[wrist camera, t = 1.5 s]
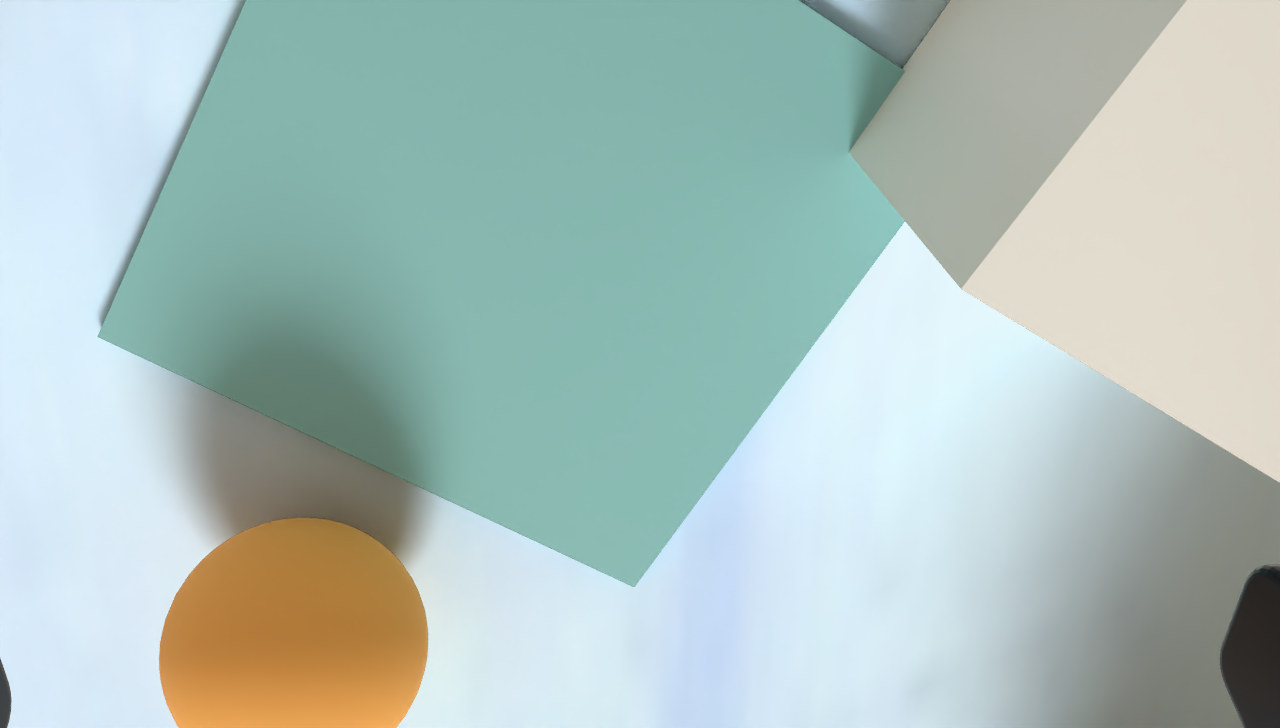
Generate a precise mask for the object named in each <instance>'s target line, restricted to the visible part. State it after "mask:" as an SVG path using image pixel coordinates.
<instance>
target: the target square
mask: <svg viewBox="0 0 1280 728" xmlns="http://www.w3.org/2000/svg"><path fill="white" fill-rule="evenodd" d="M904 73H905V71H904V70H903V69H901V68H900V67H898V66H897V65H895V64H894V63H892V62H891V61H889V60H888V59H886V58H885V57H883V56H882V55H880V54H879V53H877V52H876V51H874V50H873V49H871V48H870V47H868V46H867V45H865V44H864V43H862V42H861V41H859V40H858V39H856V38H855V37H853V36H852V35H850V34H849V33H847V32H846V31H844V30H843V29H841V28H840V27H838V26H837V25H835V24H834V23H832V22H831V21H829V20H828V19H826V18H825V17H823V16H822V15H820V14H819V13H817V12H816V11H814V10H813V9H811V8H810V7H808V6H807V5H805V4H804V3H802V2H801V1H799V0H246V1H245V3H244V6H243V8H242V10H241V12H240V15H239V17H238V19H237V22H236V24H235V26H234V28H233V31H232V33H231V35H230V37H229V40H228V42H227V44H226V46H225V49H224V51H223V53H222V56H221V58H220V60H219V62H218V65H217V67H216V69H215V71H214V74H213V76H212V78H211V80H210V83H209V85H208V87H207V90H206V92H205V94H204V96H203V99H202V101H201V103H200V105H199V108H198V110H197V112H196V115H195V117H194V119H193V121H192V124H191V126H190V128H189V130H188V133H187V135H186V137H185V139H184V142H183V144H182V146H181V149H180V151H179V153H178V155H177V158H176V160H175V162H174V164H173V167H172V169H171V171H170V173H169V176H168V178H167V180H166V183H165V185H164V187H163V189H162V192H161V194H160V196H159V198H158V201H157V203H156V205H155V207H154V210H153V212H152V214H151V217H150V219H149V221H148V223H147V226H146V228H145V230H144V232H143V235H142V237H141V239H140V241H139V244H138V246H137V248H136V251H135V253H134V255H133V257H132V260H131V262H130V264H129V266H128V269H127V271H126V273H125V275H124V278H123V280H122V282H121V285H120V287H119V289H118V291H117V294H116V296H115V298H114V300H113V303H112V305H111V307H110V309H109V312H108V314H107V316H106V319H105V321H104V323H103V325H102V328H101V330H100V332H99V334H98V337H99V338H101V339H103V340H105V341H107V342H110V343H112V344H114V345H116V346H118V347H120V348H122V349H125V350H127V351H129V352H131V353H133V354H135V355H137V356H140V357H142V358H144V359H146V360H148V361H150V362H152V363H155V364H157V365H159V366H161V367H163V368H165V369H167V370H170V371H172V372H174V373H176V374H178V375H180V376H182V377H185V378H187V379H189V380H191V381H193V382H195V383H197V384H200V385H202V386H204V387H206V388H208V389H210V390H212V391H215V392H217V393H219V394H221V395H223V396H225V397H227V398H230V399H232V400H234V401H236V402H238V403H240V404H242V405H245V406H247V407H249V408H251V409H253V410H255V411H257V412H260V413H262V414H264V415H266V416H268V417H270V418H272V419H275V420H277V421H279V422H281V423H283V424H285V425H287V426H290V427H292V428H294V429H296V430H298V431H300V432H302V433H305V434H307V435H309V436H311V437H313V438H315V439H317V440H320V441H322V442H324V443H326V444H328V445H330V446H332V447H335V448H337V449H339V450H341V451H343V452H345V453H347V454H350V455H352V456H354V457H356V458H358V459H360V460H362V461H365V462H367V463H369V464H371V465H373V466H375V467H377V468H380V469H382V470H384V471H386V472H388V473H390V474H392V475H395V476H397V477H399V478H401V479H403V480H405V481H407V482H410V483H412V484H414V485H416V486H418V487H420V488H422V489H425V490H427V491H429V492H431V493H433V494H435V495H437V496H440V497H442V498H444V499H446V500H448V501H450V502H452V503H455V504H457V505H459V506H461V507H463V508H465V509H467V510H470V511H472V512H474V513H476V514H478V515H480V516H482V517H485V518H487V519H489V520H491V521H493V522H495V523H497V524H500V525H502V526H504V527H506V528H508V529H510V530H512V531H515V532H517V533H519V534H521V535H523V536H525V537H527V538H530V539H532V540H534V541H536V542H538V543H540V544H542V545H545V546H547V547H549V548H551V549H553V550H555V551H557V552H560V553H562V554H564V555H566V556H568V557H570V558H572V559H575V560H577V561H579V562H581V563H583V564H585V565H587V566H590V567H592V568H594V569H596V570H598V571H600V572H602V573H605V574H607V575H609V576H611V577H613V578H615V579H617V580H620V581H622V582H624V583H626V584H628V585H630V586H632V587H635V586H636V584H637V583H638V582H639V580H640V579H641V578H642V576H643V575H644V573H645V572H646V571H647V569H648V568H649V567H650V565H651V564H652V563H653V561H654V560H655V559H656V557H657V556H658V555H659V553H660V552H661V550H662V549H663V548H664V546H665V545H666V544H667V542H668V541H669V540H670V538H671V537H672V536H673V534H674V533H675V532H676V530H677V529H678V527H679V526H680V525H681V523H682V522H683V521H684V519H685V518H686V517H687V515H688V514H689V513H690V511H691V510H692V509H693V507H694V506H695V504H696V503H697V502H698V500H699V499H700V498H701V496H702V495H703V494H704V492H705V491H706V490H707V488H708V487H709V486H710V484H711V483H712V481H713V480H714V479H715V477H716V476H717V475H718V473H719V472H720V471H721V469H722V468H723V467H724V465H725V464H726V463H727V461H728V460H729V458H730V457H731V456H732V454H733V453H734V452H735V450H736V449H737V448H738V446H739V445H740V444H741V442H742V441H743V440H744V438H745V437H746V435H747V434H748V433H749V431H750V430H751V429H752V427H753V426H754V425H755V423H756V422H757V421H758V419H759V418H760V417H761V415H762V414H763V412H764V411H765V410H766V408H767V407H768V406H769V404H770V403H771V402H772V400H773V399H774V398H775V396H776V395H777V394H778V392H779V391H780V389H781V388H782V387H783V385H784V384H785V383H786V381H787V380H788V379H789V377H790V376H791V375H792V373H793V372H794V371H795V369H796V368H797V366H798V365H799V364H800V362H801V361H802V360H803V358H804V357H805V356H806V354H807V353H808V352H809V350H810V349H811V348H812V346H813V345H814V343H815V342H816V341H817V339H818V338H819V337H820V335H821V334H822V333H823V331H824V330H825V329H826V327H827V326H828V325H829V323H830V322H831V320H832V319H833V318H834V316H835V315H836V314H837V312H838V311H839V310H840V308H841V307H842V306H843V304H844V303H845V302H846V300H847V299H848V297H849V296H850V295H851V293H852V292H853V291H854V289H855V288H856V287H857V285H858V284H859V283H860V281H861V280H862V279H863V277H864V276H865V274H866V273H867V272H868V270H869V269H870V268H871V266H872V265H873V264H874V262H875V261H876V260H877V258H878V257H879V256H880V254H881V253H882V251H883V250H884V249H885V247H886V246H887V245H888V243H889V242H890V241H891V239H892V238H893V237H894V235H895V234H896V233H897V231H898V230H899V228H900V227H901V226H902V224H903V223H904V222H905V220H904V219H903V218H902V217H901V215H900V214H899V213H898V212H897V211H896V209H895V208H894V207H893V206H892V205H891V203H890V202H889V201H888V200H887V198H886V197H885V196H884V195H883V194H882V192H881V191H880V190H879V189H878V188H877V186H876V185H875V184H874V183H873V182H872V180H871V179H870V178H869V177H868V175H867V174H866V173H865V172H864V171H863V169H862V168H861V167H860V166H859V165H858V163H857V162H856V161H855V160H854V158H853V157H852V156H851V155H850V154H849V151H850V150H851V149H852V147H853V146H854V144H855V143H856V141H857V140H858V138H859V137H860V136H861V134H862V133H863V131H864V130H865V128H866V127H867V126H868V124H869V123H870V121H871V120H872V118H873V117H874V116H875V114H876V113H877V111H878V110H879V108H880V107H881V106H882V104H883V103H884V101H885V100H886V98H887V97H888V96H889V94H890V93H891V91H892V90H893V88H894V87H895V85H896V84H897V83H898V81H899V80H900V78H901V77H902V75H903V74H904Z"/></svg>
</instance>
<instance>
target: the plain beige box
mask: <svg viewBox="0 0 1280 728" xmlns="http://www.w3.org/2000/svg"><path fill="white" fill-rule="evenodd" d="M903 70H904V71H905V73H904V74H903V75H902V77H901V78H900V80H899V81H898V83H897V84H896V85H895V87H894V88H893V90H892V91H891V93H890V94H889V96H888V97H887V98H886V100H885V101H884V103H883V104H882V106H881V107H880V108H879V110H878V111H877V113H876V114H875V116H874V117H873V118H872V120H871V121H870V123H869V124H868V126H867V127H866V128H865V130H864V131H863V133H862V134H861V136H860V137H859V138H858V140H857V141H856V143H855V144H854V146H853V147H852V149H851V150H850V151H849V154H850V155H851V156H852V157H853V158H854V160H855V161H856V162H857V163H858V165H859V166H860V167H861V168H862V169H863V171H864V172H865V173H866V174H867V175H868V177H869V178H870V179H871V180H872V182H873V183H874V184H875V185H876V186H877V188H878V189H879V190H880V191H881V192H882V194H883V195H884V196H885V197H886V198H887V200H888V201H889V202H890V203H891V205H892V206H893V207H894V208H895V209H896V211H897V212H898V213H899V214H900V215H901V217H902V218H903V219H904V220H905V221H906V223H907V224H908V225H909V226H910V228H911V229H912V230H913V231H914V232H915V234H916V235H917V236H918V237H919V238H920V240H921V241H922V242H923V243H924V245H925V246H926V247H927V248H928V249H929V251H930V252H931V253H932V254H933V255H934V257H935V258H936V259H937V260H938V261H939V263H940V264H941V265H942V266H943V268H944V269H945V270H946V271H947V272H948V274H949V275H950V276H951V277H952V278H953V280H954V281H955V282H956V283H957V284H958V286H959V287H960V288H961V289H962V290H964V291H965V292H967V293H969V294H970V295H972V296H974V297H975V298H977V299H979V300H980V301H982V302H983V303H985V304H987V305H988V306H990V307H992V308H993V309H995V310H997V311H998V312H1000V313H1002V314H1003V315H1005V316H1006V317H1008V318H1010V319H1011V320H1013V321H1015V322H1016V323H1018V324H1020V325H1021V326H1023V327H1025V328H1026V329H1028V330H1029V331H1031V332H1033V333H1034V334H1036V335H1038V336H1039V337H1041V338H1043V339H1044V340H1046V341H1048V342H1049V343H1051V344H1052V345H1054V346H1056V347H1057V348H1059V349H1061V350H1062V351H1064V352H1066V353H1067V354H1069V355H1071V356H1072V357H1074V358H1075V359H1077V360H1079V361H1080V362H1082V363H1084V364H1085V365H1087V366H1089V367H1090V368H1092V369H1094V370H1095V371H1097V372H1098V373H1100V374H1102V375H1103V376H1105V377H1107V378H1108V379H1110V380H1112V381H1113V382H1115V383H1117V384H1118V385H1120V386H1121V387H1123V388H1125V389H1126V390H1128V391H1130V392H1131V393H1133V394H1135V395H1136V396H1138V397H1140V398H1141V399H1143V400H1144V401H1146V402H1148V403H1149V404H1151V405H1153V406H1154V407H1156V408H1158V409H1159V410H1161V411H1163V412H1164V413H1166V414H1167V415H1169V416H1171V417H1172V418H1174V419H1176V420H1177V421H1179V422H1181V423H1182V424H1184V425H1186V426H1187V427H1189V428H1190V429H1192V430H1194V431H1195V432H1197V433H1199V434H1200V435H1202V436H1204V437H1205V438H1207V439H1209V440H1210V441H1212V442H1213V443H1215V444H1217V445H1218V446H1220V447H1222V448H1223V449H1225V450H1227V451H1228V452H1230V453H1232V454H1233V455H1235V456H1236V457H1238V458H1240V459H1241V460H1243V461H1245V462H1246V463H1248V464H1250V465H1251V466H1253V467H1255V468H1256V469H1258V470H1259V471H1261V472H1263V473H1264V474H1266V475H1268V476H1269V477H1271V478H1273V479H1274V480H1276V481H1278V482H1279V483H1280V0H950V1H949V3H948V4H947V6H946V7H945V9H944V10H943V11H942V13H941V14H940V16H939V17H938V19H937V20H936V22H935V23H934V24H933V26H932V27H931V29H930V30H929V32H928V33H927V34H926V36H925V37H924V39H923V40H922V42H921V43H920V45H919V46H918V47H917V49H916V50H915V52H914V53H913V55H912V56H911V57H910V59H909V60H908V62H907V63H906V65H905V66H904V67H903Z"/></svg>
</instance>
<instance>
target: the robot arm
mask: <svg viewBox="0 0 1280 728" xmlns="http://www.w3.org/2000/svg"><path fill="white" fill-rule="evenodd" d="M1220 665H1221V672H1222V676H1223V680H1224V683H1225V686H1226V688H1227V690H1228V693H1229V695H1230V697H1231V699H1232V702H1233V704H1234V706H1235V708H1236V711H1237V713H1238V715H1239V718H1240V720H1241V722H1242V724H1243V727H1244V728H1280V564H1278V565H1264V566H1261V567H1258V568H1256V569H1255V570H1254V571H1253V572H1252V573H1251V574H1250V575H1249V576H1248V578H1247V580H1246V582H1245V585H1244V587H1243V590H1242V593H1241V595H1240V598H1239V601H1238V603H1237V606H1236V609H1235V611H1234V614H1233V617H1232V619H1231V622H1230V625H1229V627H1228V630H1227V633H1226V635H1225V638H1224V641H1223V643H1222V647H1221V654H1220ZM10 712H11V691H10V686H9V683H8V680H7V677H6V674H5V671H4V668H3V665H2V662H1V659H0V728H7V726H8V723H9V718H10Z"/></svg>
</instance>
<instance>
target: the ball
mask: <svg viewBox="0 0 1280 728" xmlns="http://www.w3.org/2000/svg"><path fill="white" fill-rule="evenodd" d="M427 652H428V628H427V621H426V614H425V610H424V606H423V603H422V600H421V597H420V594H419V592H418V589H417V587H416V585H415V583H414V581H413V579H412V578H411V576H410V575H409V573H408V572H407V570H406V569H405V567H404V566H403V564H402V563H401V562H400V561H399V559H398V558H397V557H396V556H395V555H394V554H393V553H392V552H391V551H390V550H389V549H387V548H386V547H385V546H384V545H383V544H381V543H380V542H379V541H377V540H376V539H374V538H373V537H371V536H370V535H368V534H366V533H364V532H362V531H361V530H359V529H357V528H354V527H351V526H349V525H346V524H343V523H340V522H336V521H332V520H326V519H320V518H288V519H281V520H276V521H271V522H268V523H264V524H261V525H258V526H255V527H252V528H250V529H248V530H246V531H243V532H241V533H239V534H237V535H235V536H234V537H232V538H230V539H229V540H227V541H225V542H224V543H222V544H221V545H219V546H218V547H217V548H216V549H214V550H213V551H212V552H211V553H209V554H208V555H207V556H206V557H205V558H204V559H203V560H202V561H201V562H200V563H199V564H198V565H197V566H196V567H195V569H194V570H193V571H192V572H191V573H190V574H189V576H188V577H187V579H186V580H185V582H184V583H183V585H182V586H181V588H180V589H179V591H178V592H177V594H176V596H175V598H174V600H173V603H172V605H171V607H170V610H169V612H168V614H167V617H166V619H165V623H164V628H163V632H162V637H161V642H160V655H159V670H160V678H161V684H162V688H163V693H164V696H165V699H166V703H167V705H168V708H169V710H170V712H171V714H172V716H173V718H174V720H175V722H176V724H177V726H178V727H179V728H396V727H397V726H398V725H399V723H400V722H401V721H402V719H403V718H404V717H405V715H406V714H407V712H408V710H409V708H410V706H411V705H412V703H413V701H414V699H415V697H416V695H417V692H418V690H419V687H420V684H421V681H422V678H423V674H424V671H425V666H426V660H427Z"/></svg>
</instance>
